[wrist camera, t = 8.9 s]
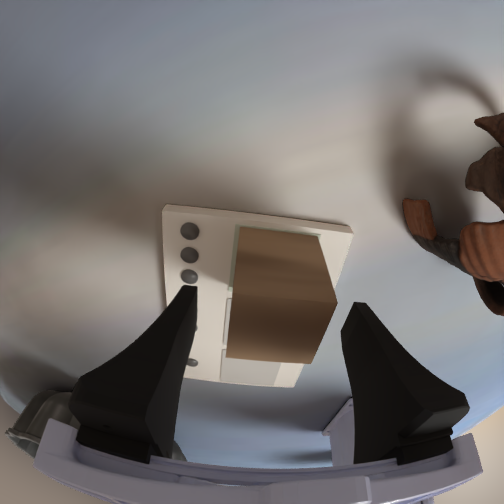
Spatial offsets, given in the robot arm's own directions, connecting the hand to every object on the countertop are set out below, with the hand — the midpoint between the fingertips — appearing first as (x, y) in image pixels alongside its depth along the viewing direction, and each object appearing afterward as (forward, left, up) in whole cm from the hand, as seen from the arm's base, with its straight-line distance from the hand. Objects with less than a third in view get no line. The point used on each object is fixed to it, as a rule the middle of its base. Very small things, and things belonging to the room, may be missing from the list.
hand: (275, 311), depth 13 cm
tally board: (-5, +1, -4) cm, 7 cm away
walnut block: (0, 0, -4) cm, 4 cm away
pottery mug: (+6, -12, -5) cm, 14 cm away
